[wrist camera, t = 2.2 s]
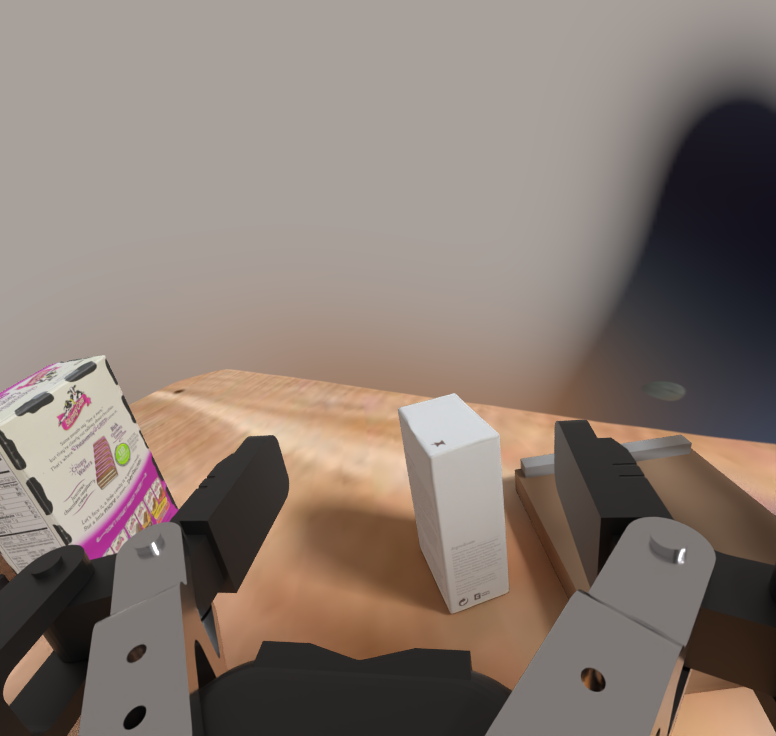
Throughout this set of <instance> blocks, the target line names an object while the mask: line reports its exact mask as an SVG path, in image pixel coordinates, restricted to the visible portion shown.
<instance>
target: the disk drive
mask: <svg viewBox="0 0 776 736" xmlns="http://www.w3.org/2000/svg"><path fill="white" fill-rule="evenodd" d="M8 583H9V581H8V579H7V578H6V577H5V575H3V574H0V590H1V589H3V588H4V587H5V586H6V585H7V584H8Z"/></svg>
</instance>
